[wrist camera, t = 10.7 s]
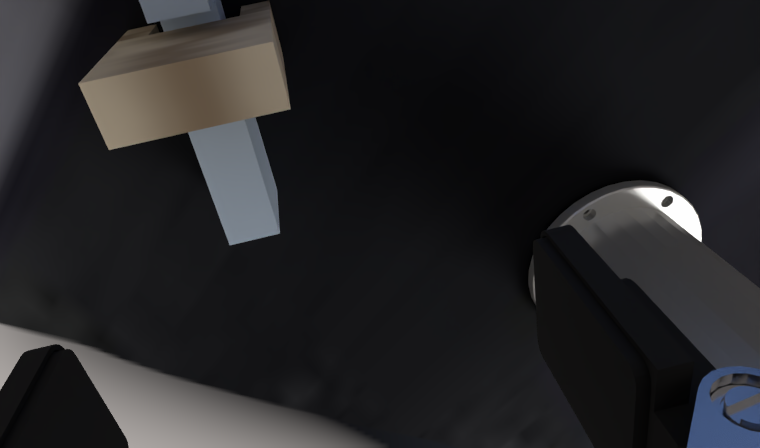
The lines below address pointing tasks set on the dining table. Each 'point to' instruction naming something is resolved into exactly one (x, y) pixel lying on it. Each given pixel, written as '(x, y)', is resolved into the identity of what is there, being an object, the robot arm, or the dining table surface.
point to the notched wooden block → (188, 78)
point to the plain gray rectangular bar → (227, 144)
